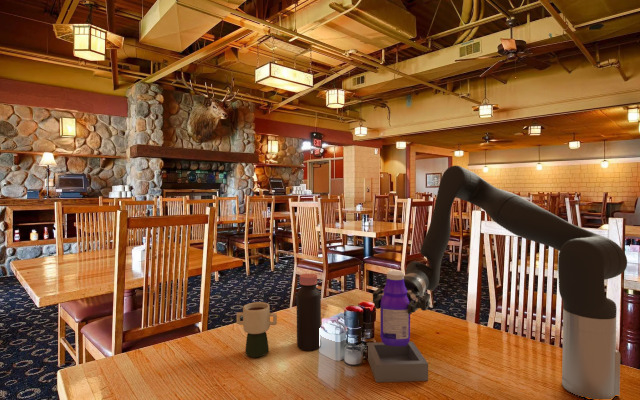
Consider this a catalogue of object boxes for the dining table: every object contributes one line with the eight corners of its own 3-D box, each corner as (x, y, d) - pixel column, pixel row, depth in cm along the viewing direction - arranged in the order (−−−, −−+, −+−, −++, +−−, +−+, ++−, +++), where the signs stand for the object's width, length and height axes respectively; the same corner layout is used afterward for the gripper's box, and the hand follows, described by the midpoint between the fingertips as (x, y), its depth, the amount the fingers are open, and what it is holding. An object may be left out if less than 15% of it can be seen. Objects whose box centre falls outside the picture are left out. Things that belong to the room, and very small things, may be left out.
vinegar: (321, 351, 99) (320, 278, 98) (296, 351, 99) (295, 278, 98) (321, 340, 106) (320, 272, 105) (297, 341, 106) (296, 272, 105)
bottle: (408, 338, 92) (408, 269, 91) (412, 348, 86) (411, 275, 85) (379, 337, 93) (378, 269, 92) (381, 347, 87) (380, 275, 86)
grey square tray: (412, 356, 96) (412, 341, 95) (428, 380, 84) (428, 363, 83) (367, 357, 95) (367, 342, 95) (376, 382, 83) (376, 365, 83)
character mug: (279, 348, 101) (279, 302, 100) (274, 360, 94) (274, 311, 93) (240, 347, 102) (240, 301, 101) (233, 359, 95) (232, 310, 94)
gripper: (384, 273, 105) (364, 288, 90) (436, 278, 98) (423, 295, 84) (384, 298, 105) (364, 318, 91) (436, 306, 98) (423, 328, 84)
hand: (392, 307), depth 87 cm, fingers closed on bottle, 7 cm apart
